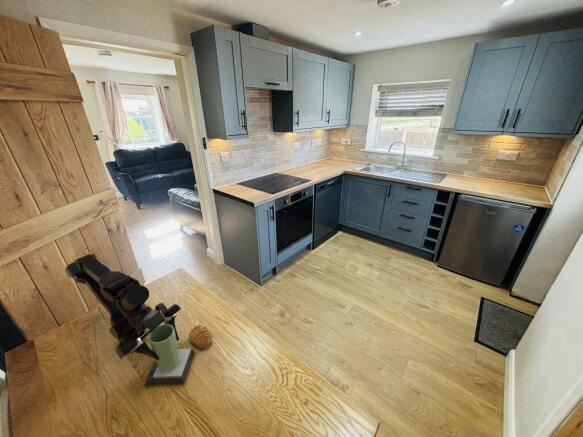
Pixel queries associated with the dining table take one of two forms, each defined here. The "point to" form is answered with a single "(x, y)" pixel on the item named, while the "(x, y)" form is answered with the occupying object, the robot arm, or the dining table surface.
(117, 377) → the dining table surface
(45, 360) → the dining table surface
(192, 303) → the dining table surface
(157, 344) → the cup
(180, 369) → the scale
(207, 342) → the pastry
